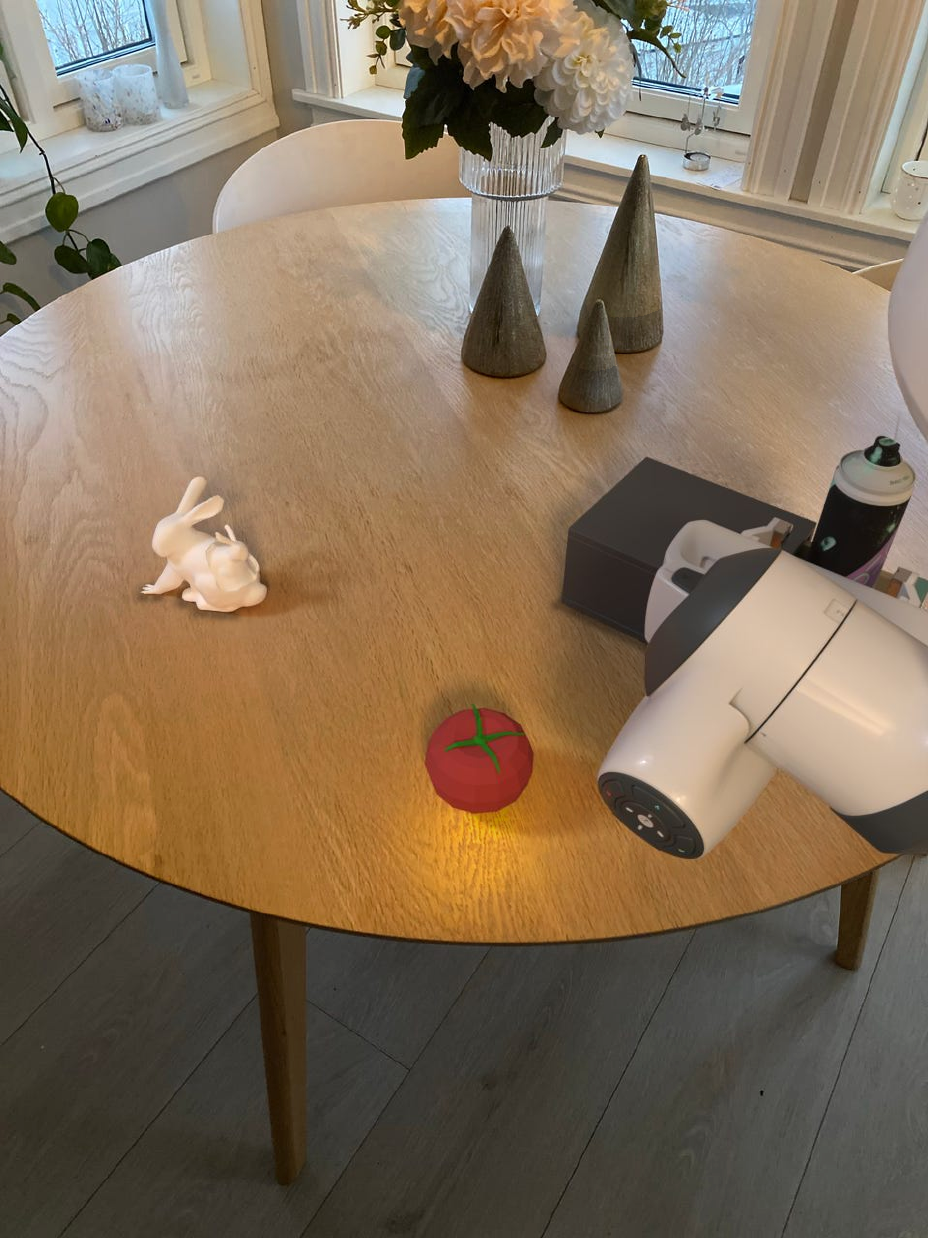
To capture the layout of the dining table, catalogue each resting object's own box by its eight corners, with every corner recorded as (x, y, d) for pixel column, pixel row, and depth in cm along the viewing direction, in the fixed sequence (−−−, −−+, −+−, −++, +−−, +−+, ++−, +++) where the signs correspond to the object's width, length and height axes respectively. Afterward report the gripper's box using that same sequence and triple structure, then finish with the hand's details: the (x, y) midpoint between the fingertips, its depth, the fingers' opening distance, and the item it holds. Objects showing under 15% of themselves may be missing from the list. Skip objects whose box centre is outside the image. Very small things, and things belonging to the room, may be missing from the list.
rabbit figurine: (138, 593, 88) (112, 508, 81) (186, 545, 93) (165, 461, 86) (251, 628, 85) (233, 543, 78) (294, 577, 90) (281, 492, 83)
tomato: (522, 743, 75) (527, 676, 70) (540, 826, 70) (547, 761, 64) (421, 752, 75) (418, 686, 69) (430, 837, 69) (428, 772, 64)
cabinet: (793, 596, 88) (817, 522, 82) (728, 683, 80) (749, 608, 74) (634, 528, 95) (646, 455, 89) (560, 602, 87) (568, 528, 81)
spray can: (776, 656, 80) (843, 453, 66) (786, 614, 83) (851, 413, 69) (844, 674, 78) (927, 470, 64) (851, 631, 82) (931, 429, 68)
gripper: (942, 698, 56) (1006, 575, 64) (635, 561, 65) (726, 468, 73) (907, 765, 60) (971, 642, 68) (624, 628, 69) (710, 533, 77)
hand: (842, 551), depth 71 cm, fingers open, 8 cm apart
